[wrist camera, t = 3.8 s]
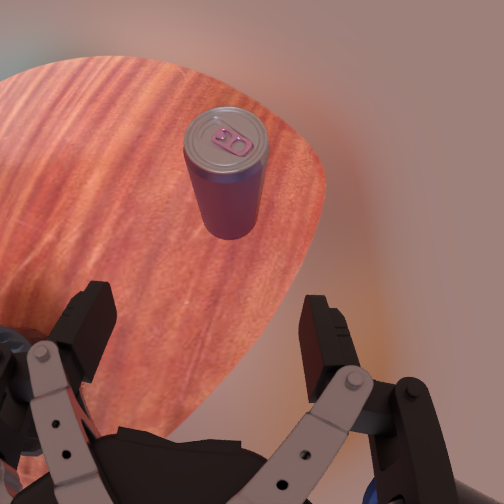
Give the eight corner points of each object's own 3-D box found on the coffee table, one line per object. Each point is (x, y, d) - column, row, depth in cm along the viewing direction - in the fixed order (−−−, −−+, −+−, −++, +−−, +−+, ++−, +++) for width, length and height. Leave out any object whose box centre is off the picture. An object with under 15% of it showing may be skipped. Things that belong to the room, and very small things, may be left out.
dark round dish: (99, 440, 27) (79, 456, 21) (16, 444, 25) (-7, 453, 20) (61, 316, 30) (35, 313, 25) (-15, 338, 28) (-41, 336, 23)
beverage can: (236, 252, 33) (236, 192, 18) (192, 222, 33) (162, 147, 19) (267, 209, 34) (287, 128, 20) (224, 182, 35) (217, 92, 20)
